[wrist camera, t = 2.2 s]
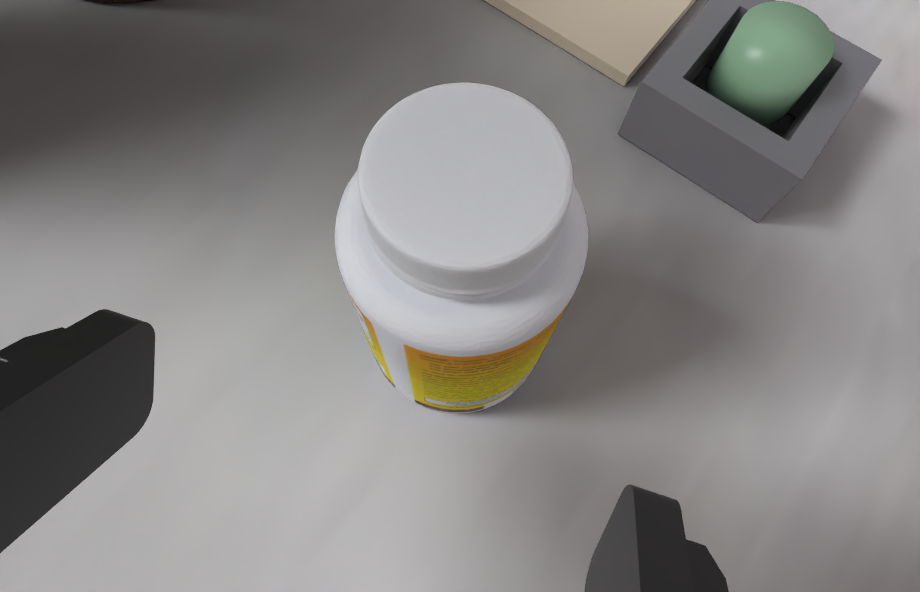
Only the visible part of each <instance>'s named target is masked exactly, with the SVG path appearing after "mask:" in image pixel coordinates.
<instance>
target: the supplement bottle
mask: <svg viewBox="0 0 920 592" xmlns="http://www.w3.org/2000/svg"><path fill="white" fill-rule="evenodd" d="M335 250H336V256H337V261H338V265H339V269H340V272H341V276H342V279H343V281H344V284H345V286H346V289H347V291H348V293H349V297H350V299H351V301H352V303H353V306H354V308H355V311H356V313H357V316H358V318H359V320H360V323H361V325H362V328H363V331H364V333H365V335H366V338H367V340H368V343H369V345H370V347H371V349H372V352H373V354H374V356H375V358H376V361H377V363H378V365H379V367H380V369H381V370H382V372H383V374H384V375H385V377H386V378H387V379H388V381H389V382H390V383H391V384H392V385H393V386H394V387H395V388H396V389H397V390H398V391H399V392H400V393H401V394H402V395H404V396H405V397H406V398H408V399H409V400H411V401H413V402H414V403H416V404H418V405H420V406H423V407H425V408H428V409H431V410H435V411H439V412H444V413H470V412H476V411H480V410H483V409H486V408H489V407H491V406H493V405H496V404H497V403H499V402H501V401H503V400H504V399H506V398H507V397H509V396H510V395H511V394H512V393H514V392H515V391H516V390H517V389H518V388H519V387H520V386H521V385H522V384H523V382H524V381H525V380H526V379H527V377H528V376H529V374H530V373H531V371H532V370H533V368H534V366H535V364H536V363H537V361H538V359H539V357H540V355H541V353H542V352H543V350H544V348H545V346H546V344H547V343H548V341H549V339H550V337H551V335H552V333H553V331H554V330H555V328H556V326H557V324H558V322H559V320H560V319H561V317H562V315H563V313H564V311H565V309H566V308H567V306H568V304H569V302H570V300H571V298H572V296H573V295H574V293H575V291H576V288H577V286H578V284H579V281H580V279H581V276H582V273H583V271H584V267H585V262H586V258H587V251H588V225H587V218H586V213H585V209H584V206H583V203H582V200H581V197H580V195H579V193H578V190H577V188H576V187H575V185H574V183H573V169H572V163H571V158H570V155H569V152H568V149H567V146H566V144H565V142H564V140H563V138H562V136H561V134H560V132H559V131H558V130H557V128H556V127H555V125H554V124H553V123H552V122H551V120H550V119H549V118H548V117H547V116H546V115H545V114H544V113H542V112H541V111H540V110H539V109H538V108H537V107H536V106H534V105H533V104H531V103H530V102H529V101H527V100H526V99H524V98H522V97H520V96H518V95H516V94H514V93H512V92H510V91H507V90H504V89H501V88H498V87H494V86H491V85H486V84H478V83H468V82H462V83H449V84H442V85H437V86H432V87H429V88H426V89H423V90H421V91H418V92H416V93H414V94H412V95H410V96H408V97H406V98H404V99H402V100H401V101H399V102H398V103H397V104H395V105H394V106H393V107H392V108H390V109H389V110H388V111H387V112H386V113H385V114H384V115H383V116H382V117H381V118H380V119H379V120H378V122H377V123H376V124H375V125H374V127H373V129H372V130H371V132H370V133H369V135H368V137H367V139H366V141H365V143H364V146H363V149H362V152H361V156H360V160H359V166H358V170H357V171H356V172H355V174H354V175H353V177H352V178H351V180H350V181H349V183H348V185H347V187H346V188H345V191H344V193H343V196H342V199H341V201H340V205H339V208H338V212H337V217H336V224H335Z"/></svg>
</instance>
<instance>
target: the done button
mask: <svg viewBox="0 0 920 592" xmlns="http://www.w3.org/2000/svg"><path fill="white" fill-rule="evenodd" d="M833 50H834V43H833V38H832V35H831V33H830V31H829V29H828V27H827V26H826V24H825V23H824V22H823V21H822V20H821V19H820V18H819V17H818V16H817V15H815V14H814V13H813V12H811V11H809V10H808V9H806V8H804V7H802V6H799V5H796V4H793V3H789V2H782V1H771V2H765V3H761V4H759V5H756V6H754V7H752V8H751V9H750V10H748V11H747V12H746V13H745V14H744V16H743V17H742V19H741V21H740V22H739V24H738V26H737V27H736V29H735V31H734V33H733V34H732V36H731V38H730V39H729V41H728V43H727V44H726V46H725V48H724V50H723V51H722V53H721V55H720V56H719V58H718V60H717V61H716V63H715V65H714V66H713V68H712V70H711V72H710V74H709V76H708V81H707V87H708V93H709V94H710V95H712V96H714V97H715V98H717V99H719V100H720V101H722V102H724V103H725V104H727V105H729V106H730V107H732V108H734V109H735V110H737V111H739V112H740V113H742V114H744V115H745V116H747V117H749V118H750V119H752V120H754V121H755V122H757V123H759V124H760V125H768V124H771V123H774V122H776V121H778V120H779V119H781V118H782V117H783V116H785V114H786V113H787V112H788V111H789V110H790V108H791V107H792V106H793V105H794V104H795V102H796V101H797V100H798V99H799V98H800V96H801V95H802V94H803V93H804V92H805V90H806V89H807V88H808V87H809V86H810V84H811V83H812V82H813V81H814V80H815V78H816V77H817V76H818V75H819V74H820V72H821V71H822V70H823V69H824V68H825V66H826V65H827V64H828V63H829V61H830V60H831V58H832V55H833Z"/></svg>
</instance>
